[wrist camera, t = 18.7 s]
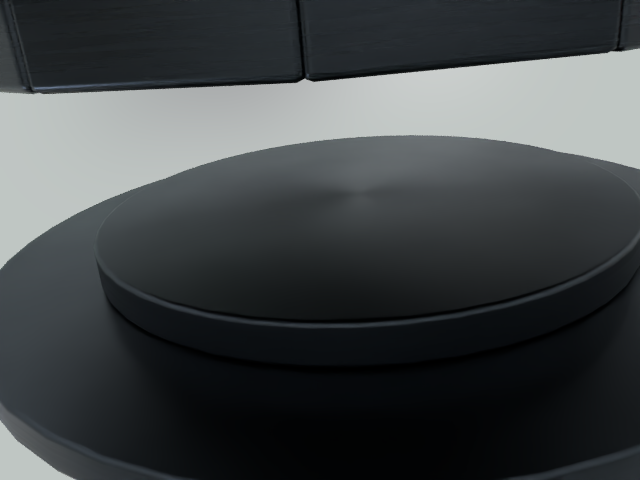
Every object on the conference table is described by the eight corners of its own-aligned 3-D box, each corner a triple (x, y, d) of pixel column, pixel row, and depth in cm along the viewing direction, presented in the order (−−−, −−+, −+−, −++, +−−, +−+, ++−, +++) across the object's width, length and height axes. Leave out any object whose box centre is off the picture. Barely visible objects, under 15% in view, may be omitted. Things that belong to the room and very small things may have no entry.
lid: (1199, 611, 3) (808, 1206, 7) (698, 115, 14) (650, 438, 17) (-289, 343, 7) (-52, 793, 11) (213, 121, 18) (251, 381, 21)
